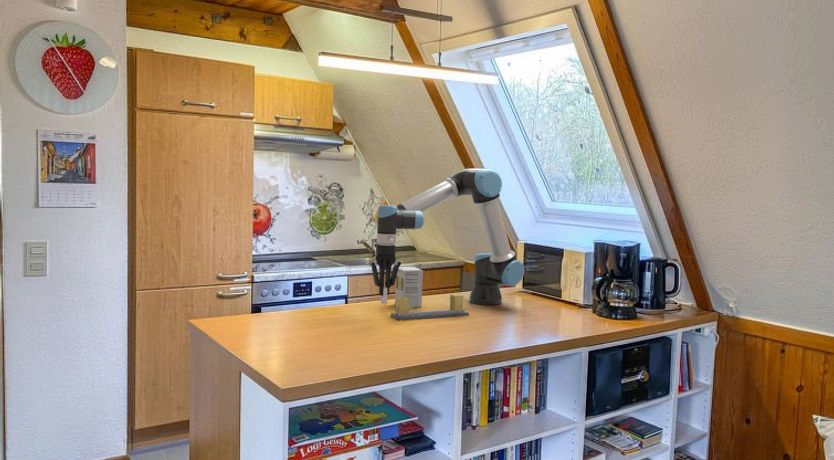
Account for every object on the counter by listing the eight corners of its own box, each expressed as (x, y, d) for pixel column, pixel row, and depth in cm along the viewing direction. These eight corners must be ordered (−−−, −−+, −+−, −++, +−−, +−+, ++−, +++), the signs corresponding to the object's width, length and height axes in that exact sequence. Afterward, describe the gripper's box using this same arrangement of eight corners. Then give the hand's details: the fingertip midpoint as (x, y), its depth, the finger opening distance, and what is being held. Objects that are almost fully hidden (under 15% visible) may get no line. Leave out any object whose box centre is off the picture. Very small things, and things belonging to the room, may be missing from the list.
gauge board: (390, 316, 259) (391, 295, 258) (458, 311, 273) (459, 292, 272) (399, 320, 251) (399, 299, 250) (468, 315, 265) (469, 295, 264)
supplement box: (394, 304, 282) (395, 267, 281) (413, 303, 286) (414, 266, 285) (402, 308, 274) (404, 270, 272) (422, 307, 278) (423, 269, 276)
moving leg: (392, 312, 258) (393, 295, 258) (401, 312, 260) (402, 295, 259) (399, 316, 252) (400, 299, 251) (408, 315, 254) (409, 298, 253)
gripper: (374, 245, 242) (371, 306, 244) (405, 245, 248) (402, 304, 250) (367, 243, 249) (364, 302, 251) (397, 243, 255) (394, 300, 257)
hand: (383, 303), depth 250 cm, fingers closed
